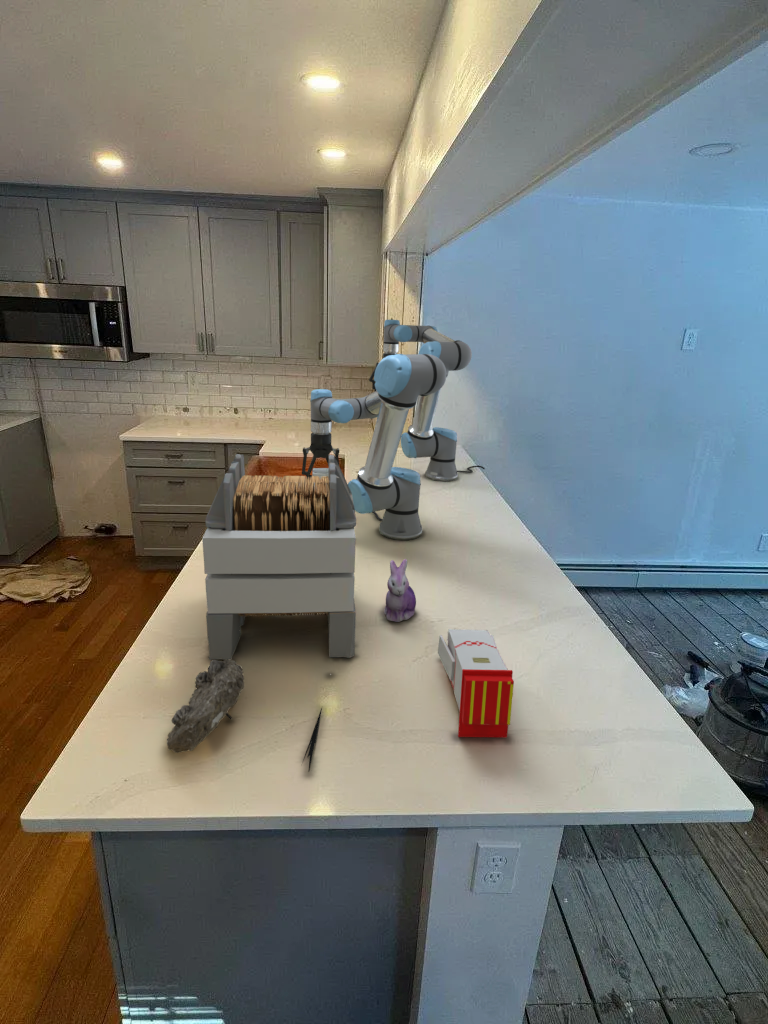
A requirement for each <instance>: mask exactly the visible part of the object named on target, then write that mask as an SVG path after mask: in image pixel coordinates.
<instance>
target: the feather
mask: <svg viewBox="0 0 768 1024" xmlns="http://www.w3.org/2000/svg"><path fill="white" fill-rule="evenodd" d="M329 675H330V676H331V675H332V674H331V673H330V674H329ZM322 710H323V707H321V708H320V710H319V713H318V716H317V719H316V723H315V725H314V728H313V731H312V733H311V737H310V739H309V742H308V745H307V748H306V751H305V754H304V757H303V760H302V763H301V767H302V765H303V763H304V761H305V758H308V759H309V760H308V762H307V763H308V764H307V766H308V771H310V770H311V766H312V765H311V764H312V760H313V757H315V756H314V755H315V751H316V749H315V746H317V739H318V733H319V729H320V722H321V717H322V712H323V711H322ZM313 754H314V755H313ZM306 755H307V757H306Z"/></svg>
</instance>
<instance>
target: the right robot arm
mask: <svg viewBox="0 0 768 1024" xmlns="http://www.w3.org/2000/svg"><path fill="white" fill-rule="evenodd" d="M400 343H423V344H422V345H421V347H420V348H419V351H418V353H417V354H430V355H433V356H436V357H437V358H439V359H440V360H441V361H442V362H443V364H444V366H445V368H446V373H447V374H446V379H447V378H448V375H449V372H456V371H461V370H464V369H465V368H466V367H467V366H468V365H469V364H470V363H471V361H472V358H473V352H472V348H471V347H470V345H469V344H467V343H466V342H464V341H462V340H460V339H458V340H455V339H453V338H451V337H449V336H447V335H446V334H443V333H441V332H439V331H438V329H437V327H436V326H435V325H416V324H415V325H413V324H401V322H400V320H399V319H385V320H384V323H383V347H382V352H383V353H382V359H383V358H385V357H387V356H389V355H396V354H399V349H400V348H399V347H400ZM378 364H379V362H376V363H375V366H374V369H373V371H372V372H371V375H370V377H369V378H368V381H369V382H370V383H371V384H372V385H371V386H372V387H371V388H372V390H374V391H373V392H375V391H377V390H376V388H375V383H376V381H374V375H375V370H376V368H377V365H378ZM441 390H442V388H441V389H440V390H438V391H437V392H435V393H432V394H430V395H427V396H424V397H423V396H418V399H417V402H416V405H415V411H414V416H413V421H412V424H410V425H409V426H408V428H407V432H406V431H405V432H402V435H401V439H400V446H401V447H400V448H401V451H402V453H403V454H404V456H405V457H406V458H408V459H419V458H420V459H421V458H430V459H429V462H428V466H427V468H426V470H425V478H427V479H428V480H431V481H435V482H436V481H437V482H453V481H456V480H457V479H458V474H459V473H465V474H472V473H473V470H472V469H473V468H481V469H482V470H486V468H485V467H484V466H482V465H471V466H468V467H467V468H466V470H458V469H457V466H456V453H457V443H458V434H457V431H455V430H453V429H450V428H445V427H439V426H438V427H433V422H434V419H435V415H436V410H437V406H438V402H439V398H440V393H441Z"/></svg>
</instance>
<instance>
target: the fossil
mask: <svg viewBox="0 0 768 1024" xmlns="http://www.w3.org/2000/svg"><path fill="white" fill-rule="evenodd" d="M243 670H244V669H243V667H242V665H240V664H237V662H236V661H235V660H234V659H233V658H232V659H223V661H222V660H218V659H214V660H210V663H209V665H208V666H207V671H201V672H199V673H198V674H197V675H196V676H195V680H194V684H195V685H194V687H195V689H194V690H193V693H192V694H191V697H190V698H189V700H188V704H184V705H182V706H181V707H180V709H177V710H176V711H175V713H174V715H173V716H172V718H171V723H172V724H173V727H172V730H171V731H170V732H168V734H167V738H166V741H167V742H166V745H167V749H168V750H169V751H173V752H174V753H176V754H178V753H182V752H188V751H189V752H192V751H193V750H195V748H196V747H197V746H199V744H200V743H201V742H203V741H204V740H205V739H206V738H207V737H208V736H209V735H210V734H211V733H212V732H214V730H215V729H217V727H218V726H219V724H220V722H221V721H222V720H223V719H224V718H225V716H226V717H227V719H229V720H233V717H232V715H230V714H229V710H230V709H231V708H234V706H235V704H236V703H237V702H238V699H239V697H240V695H241V693H242V691H243V690H245V689H244V688H245V675H244V671H243Z"/></svg>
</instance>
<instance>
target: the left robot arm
mask: <svg viewBox="0 0 768 1024" xmlns="http://www.w3.org/2000/svg"><path fill="white" fill-rule="evenodd" d="M378 363H379V364H378V365H377V368H376V370H375V375H374V377H373V380H374V381H376V382H375V388H376V391H375V392H374V391H373V392H371V393H370V394H368V395H366V396H363V397H352V398H340V399H339V398H334V397H333V392H332V391H331V390H330V389H325V388H316V389H313V390H311V391H310V432H311V433H310V445H309V446H308V447H302V455H303V456H302V457H303V458H302V467H301V476H305V477H307V479H308V477H309V479H310V478H312V474H311V473H312V472H313V471H312V470H313V468H314V466H315V463H316V461H317V459H325V461H326V463H327V466H328V467H329V455H331V453H332V452H333V455H334V456H335V458H336V460H337V462H338V464H339V465H340V459H339V454H340V448H339V447H333V445H332V430H333V429H332V427H333V426H332V425H333V422H334V423H337V424H347V423H349V422H350V421H356V420H357V421H358V420H367V419H375V418H376V422H375V425H374V428H373V432H372V436H371V441H370V445H369V449H368V452H367V455H366V459H365V464H364V466H361V467H360V468H359V470H358V473H357V477H356V479H355V478H353V479H351V480H350V481H348V482H347V484H348V486H349V488H350V490H351V493H352V498H353V503H354V509H355V513H357V514H361V515H363V514H364V515H365V514H374V516H375V518H376V519H377V520H378V521H379V526H378V533H379V534H380V535H381V536H382V537H385V538H387V539H389V540H395V541H410V540H415V539H418V538H420V537H421V536H422V535H423V525H422V524H421V518H420V515H419V507H420V506H419V505H420V504H419V503H420V496H421V495H420V494H421V493H420V492H421V474H420V472H418V471H416V470H414V469H411V468H407V467H401V466H400V467H399V466H393V465H394V462H395V460H396V455H397V452H398V449H399V446H400V443H401V436H402V434H403V433H404V428H405V425H406V421H407V418H408V415H409V411H410V409H413V408H415V407H416V406H417V402H418V397H419V396H423V397H424V396H427V395H430V394H432V393H435V392H437V391H438V390H440V389H441V390H442V388H443V387H444V386H445V383H446V381H447V378H446V374H447V373H446V368H445V366H444V364H443V362H442V361H441V360H440V359H439V358H437V357H436V356H433V355H430V354H418V353H417V354H416V353H415V354H414V353H411V354H407V353H406V354H405V353H397V354H396V355H389V356H387V357H385V358H383V357H382V359H381V360H380V361H379V362H378ZM441 390H440V391H441ZM310 452H311V454H312V458H311V460H310V463H309V466H308V468H307V459H308V454H309V453H310ZM306 468H307V470H306ZM380 511H384V513H383V515H382V518H380V516H379V515H378V513H377V512H380Z"/></svg>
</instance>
